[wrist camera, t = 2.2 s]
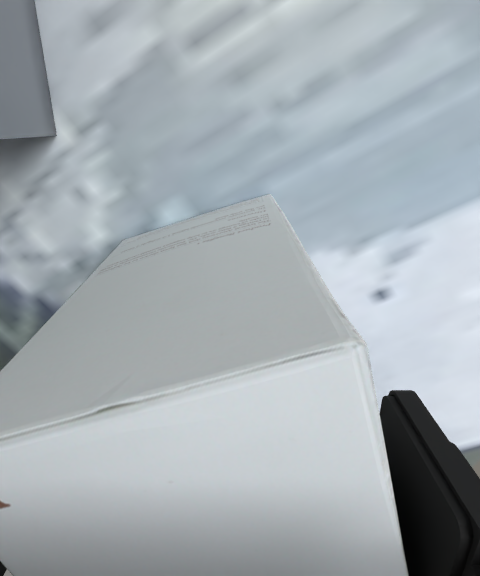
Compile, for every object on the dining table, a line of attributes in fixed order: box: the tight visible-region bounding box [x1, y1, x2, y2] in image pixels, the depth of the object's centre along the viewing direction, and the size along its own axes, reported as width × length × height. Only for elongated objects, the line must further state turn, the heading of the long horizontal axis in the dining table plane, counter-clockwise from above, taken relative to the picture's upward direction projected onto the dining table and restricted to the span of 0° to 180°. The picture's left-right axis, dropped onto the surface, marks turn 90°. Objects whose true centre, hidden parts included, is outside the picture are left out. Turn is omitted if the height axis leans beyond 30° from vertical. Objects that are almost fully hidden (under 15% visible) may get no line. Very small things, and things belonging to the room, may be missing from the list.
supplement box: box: [0, 194, 409, 576], centre depth 13 cm, size 7×7×13 cm
